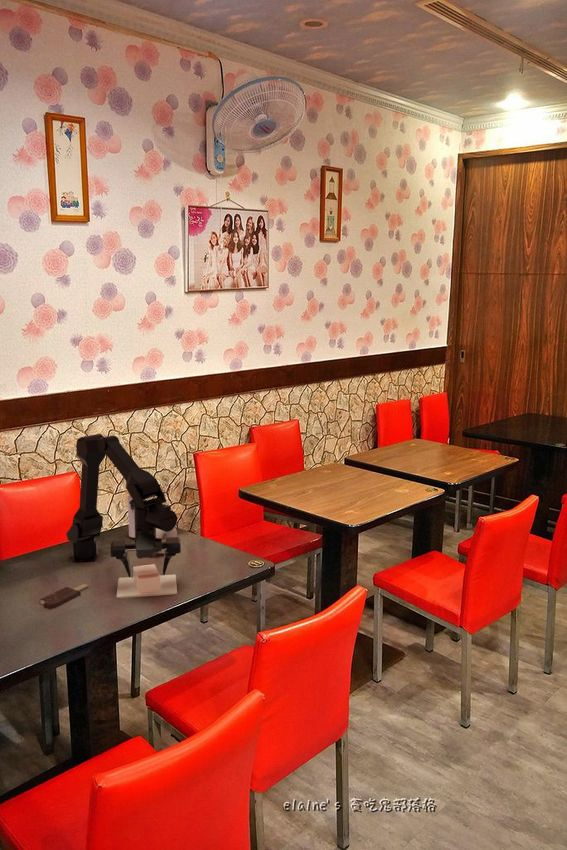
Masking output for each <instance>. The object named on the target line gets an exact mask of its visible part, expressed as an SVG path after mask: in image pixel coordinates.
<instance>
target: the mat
mask: <svg viewBox="0 0 567 850" xmlns="http://www.w3.org/2000/svg"><path fill="white" fill-rule="evenodd" d="M159 575H160V590H158V591H151V592H143V593H138V591H137V588H136V585H135V582H134V576H131V577H130V578H129V576H128V577H118V581H117V591H116V599H126V598H138V597H140V598H141V597H154V596H169V595H177V594H178V589H177V588H178V587H177V576H176V575H177V574H165V575H163V574H159Z"/></svg>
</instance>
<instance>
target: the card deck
mask: <svg viewBox="0 0 567 850" xmlns="http://www.w3.org/2000/svg"><path fill="white" fill-rule="evenodd" d="M132 567H133V569H132V570H133V577H134V582H135V585H136V588H137V591H138V593H143V592H151V591H158V590H160V575H161V574H160V573H159V571H158V568H157V566H156V564H155V563H153V564H145V565H136V566H132Z"/></svg>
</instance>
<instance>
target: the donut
mask: <svg viewBox="0 0 567 850" xmlns="http://www.w3.org/2000/svg"><path fill="white" fill-rule="evenodd" d="M164 534H165V535H166V536H165V539H164V541H163V542H166V538H170V537H178V532H177V528H176V526H175V527H174V529H172V530H171V531H169V532H165V531H162V530H160V529H157V528H156V538H163V536H164ZM164 552H165V549H162V551H159V553H158V554H161V555H164Z"/></svg>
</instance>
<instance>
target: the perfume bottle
mask: <svg viewBox="0 0 567 850" xmlns="http://www.w3.org/2000/svg"><path fill="white" fill-rule="evenodd" d="M125 494H126V495H127V516H128V517H127V518H128V536H129V537H130V538H134V539H135V520H134V505H131V504H129V502H130V501H131V500H132V499H133V498H132V497H131V496H130V494H129V492H128V491H127V489H125Z"/></svg>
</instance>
